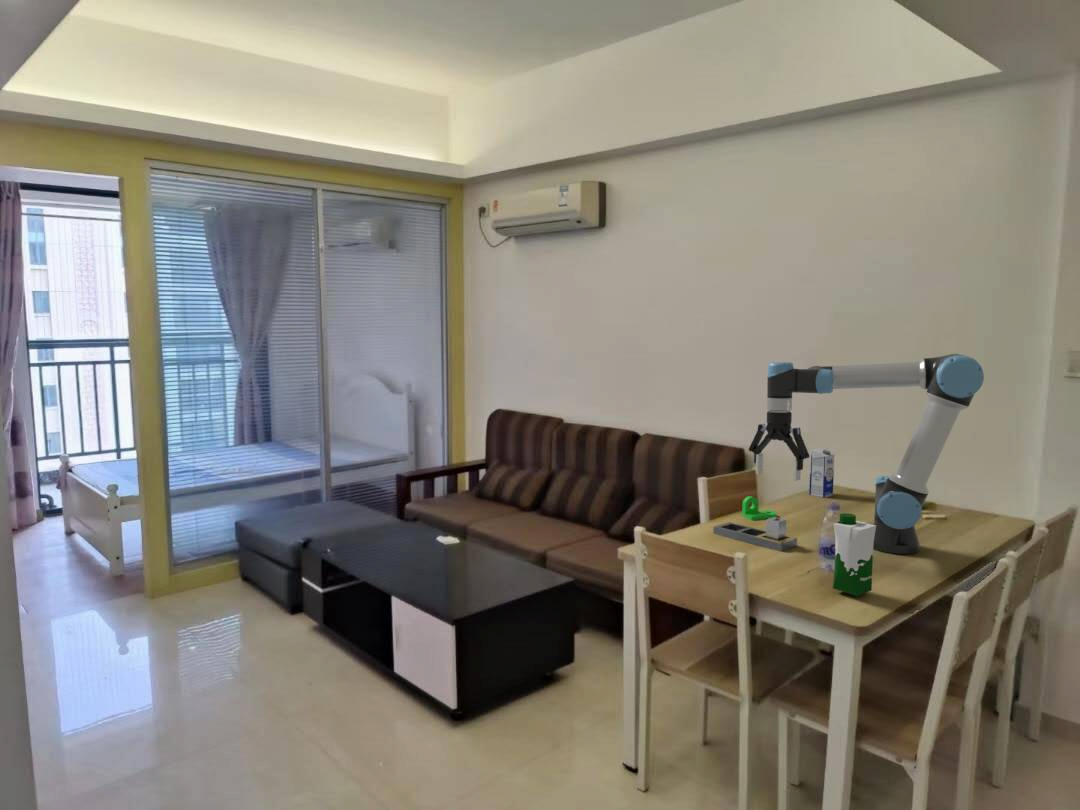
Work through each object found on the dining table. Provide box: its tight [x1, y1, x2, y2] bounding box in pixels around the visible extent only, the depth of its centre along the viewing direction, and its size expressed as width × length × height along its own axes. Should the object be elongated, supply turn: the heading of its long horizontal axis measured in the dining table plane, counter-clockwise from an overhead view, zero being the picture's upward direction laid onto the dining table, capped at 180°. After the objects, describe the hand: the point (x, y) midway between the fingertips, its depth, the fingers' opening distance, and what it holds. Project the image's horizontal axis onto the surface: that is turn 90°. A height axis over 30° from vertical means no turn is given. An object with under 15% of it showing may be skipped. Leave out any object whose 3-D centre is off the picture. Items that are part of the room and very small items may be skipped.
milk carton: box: [808, 447, 835, 499], centre depth 301 cm, size 7×7×20 cm
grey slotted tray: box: [712, 521, 798, 552], centre depth 243 cm, size 26×9×3 cm, turn 40°
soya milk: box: [832, 513, 876, 597], centre depth 195 cm, size 9×9×20 cm
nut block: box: [765, 516, 787, 541], centre depth 236 cm, size 4×4×8 cm
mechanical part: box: [741, 495, 777, 521], centre depth 270 cm, size 12×6×8 cm, turn 108°
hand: (777, 476), depth 234 cm, fingers open, 13 cm apart
